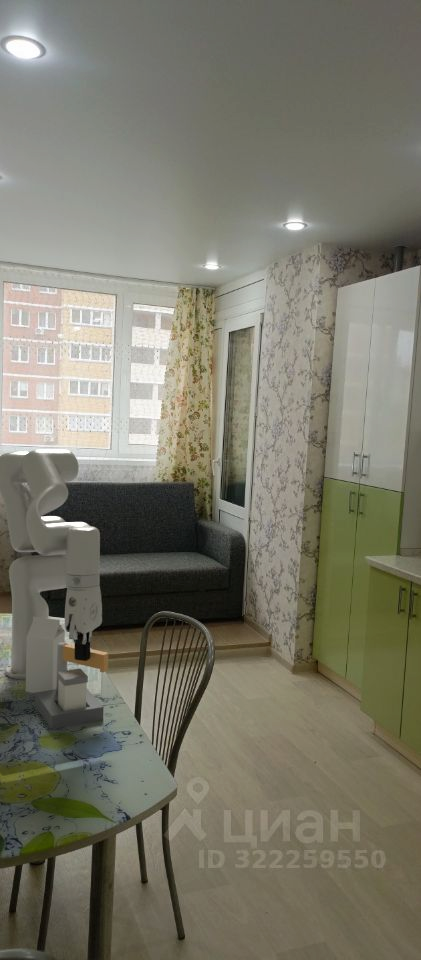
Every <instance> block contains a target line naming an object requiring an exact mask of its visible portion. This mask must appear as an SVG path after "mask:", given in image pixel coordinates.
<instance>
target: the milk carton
mask: <svg viewBox="0 0 421 960" xmlns="http://www.w3.org/2000/svg"><path fill="white" fill-rule="evenodd" d="M60 621H61V619H59V618H58V619H57V618H39V617H33V622H32V625H31V627H30V630H29V632H28V635H27V647H26V679H25V693H32V694H35V692H42V691H48V690H54V689H56V688H57V644H58V643H66V632H65V631H66V630H65V628H63V626H62V625H61V622H60Z"/></svg>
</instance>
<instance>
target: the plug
mask: <svg viewBox="0 0 421 960" xmlns="http://www.w3.org/2000/svg"><path fill="white" fill-rule="evenodd" d="M58 679H59V683H58V707H59V708H60V709H61V711H62V712H63V711H69V710H74V709H80V708H86V688H87V684H88V683H89V677H88V675H87V674H86V673H85V672H84V671H83V669H81V668H75V669H67V670H66V671H59V672H58Z"/></svg>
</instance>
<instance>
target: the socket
mask: <svg viewBox="0 0 421 960" xmlns="http://www.w3.org/2000/svg"><path fill="white" fill-rule="evenodd" d="M102 704H103V703H101V702H100V701H99V700H98V699H97V698H96V697H95V696H94V694H92V692H91V691H90V690H89V689H88V688H87V687H86V708H80V709H74V710H69V711H63V712H62V711H61V709H60V708H59V707H58V691H57V690H56V689H54V690H48V691H42V692H35V693H34V707H36V709H37V710H38V711H39V714H40V715H41V716H42V717H43V718H44V721H45V722H46V723H47V725H48V726H49V728H50V729H51V730H53V729H59V728H65V727H70V726H76V725H81V724H87V723H92V722H96V721H97V722H98V721H103V720H104V705H102Z"/></svg>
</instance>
